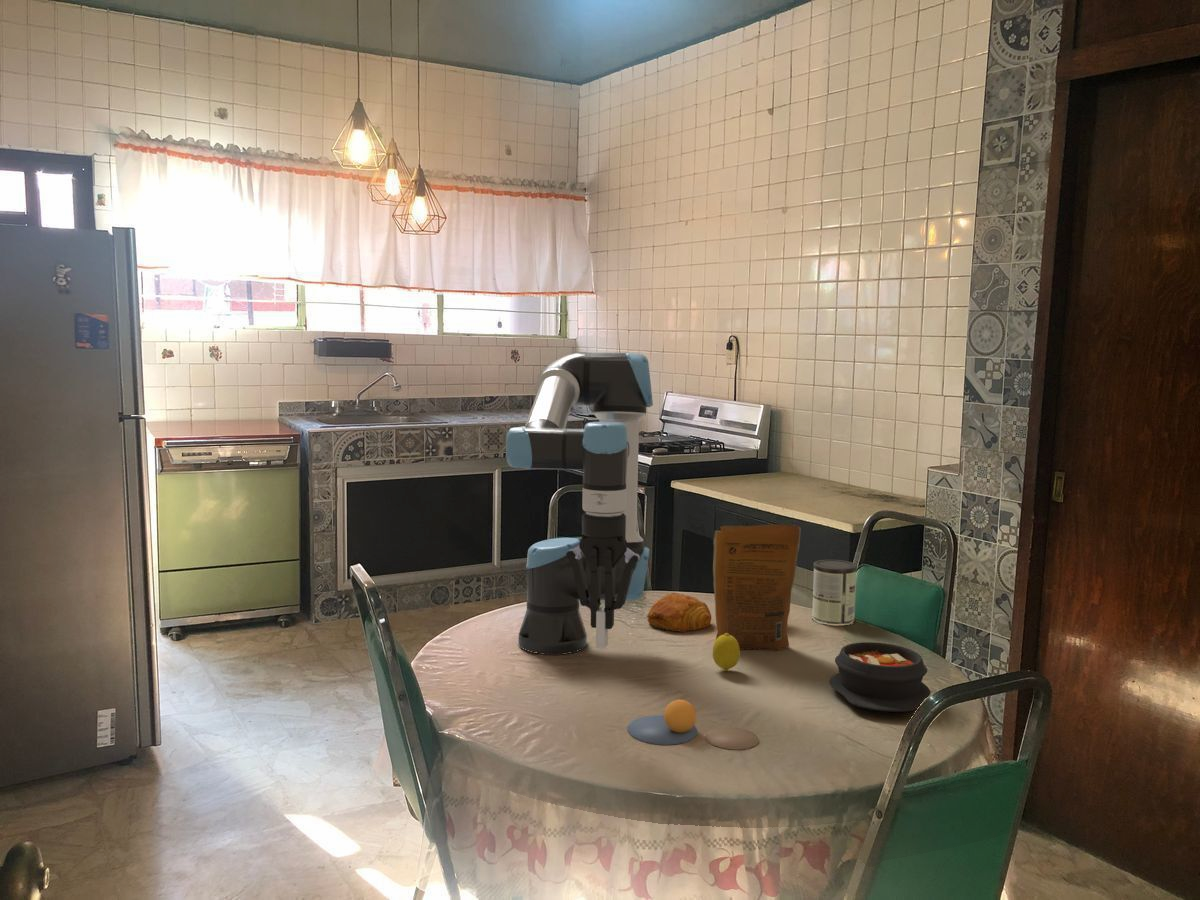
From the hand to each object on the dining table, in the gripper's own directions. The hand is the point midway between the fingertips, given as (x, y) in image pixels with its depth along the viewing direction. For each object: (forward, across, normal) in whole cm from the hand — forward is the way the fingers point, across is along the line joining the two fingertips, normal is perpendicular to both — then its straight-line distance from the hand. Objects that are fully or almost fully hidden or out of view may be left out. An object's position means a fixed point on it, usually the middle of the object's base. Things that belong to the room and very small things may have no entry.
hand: (601, 646), depth 162 cm
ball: (+11, +14, 0) cm, 18 cm away
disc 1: (+14, +11, 0) cm, 18 cm away
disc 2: (+14, +23, 0) cm, 27 cm away
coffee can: (+14, +39, +77) cm, 87 cm away
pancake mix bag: (+14, +22, +50) cm, 56 cm away
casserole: (+14, +48, +28) cm, 57 cm away
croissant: (+14, +3, +63) cm, 65 cm away
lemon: (+14, +18, +33) cm, 40 cm away
